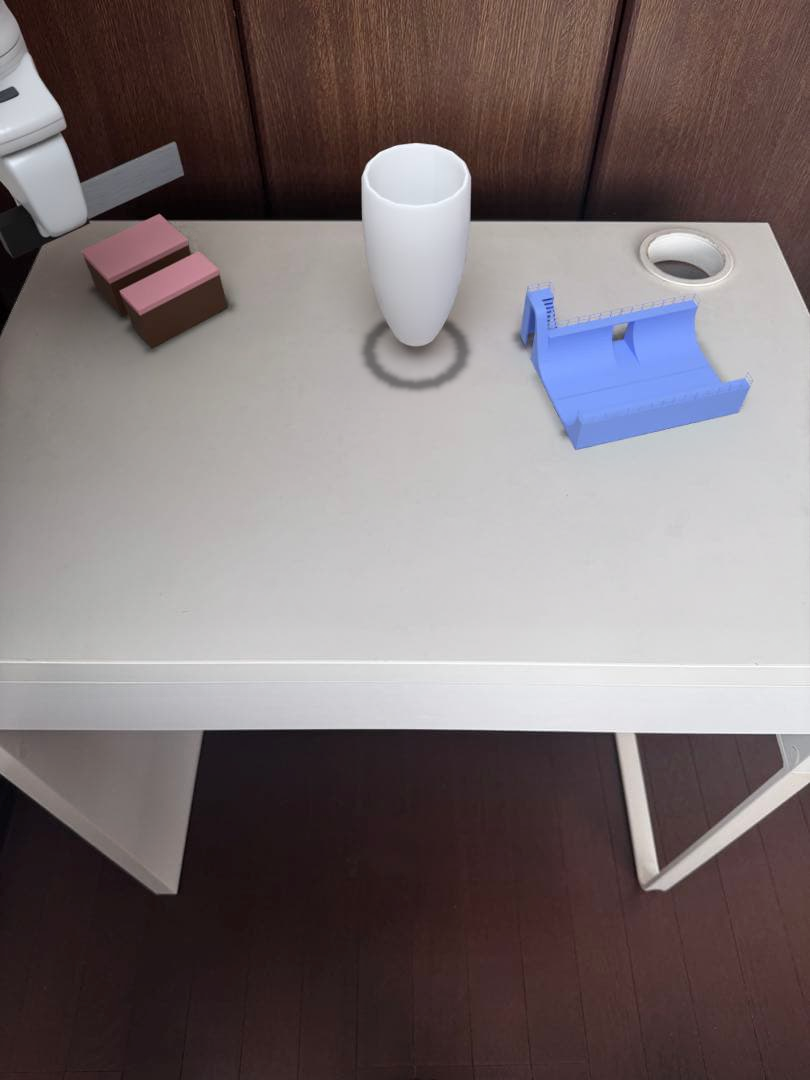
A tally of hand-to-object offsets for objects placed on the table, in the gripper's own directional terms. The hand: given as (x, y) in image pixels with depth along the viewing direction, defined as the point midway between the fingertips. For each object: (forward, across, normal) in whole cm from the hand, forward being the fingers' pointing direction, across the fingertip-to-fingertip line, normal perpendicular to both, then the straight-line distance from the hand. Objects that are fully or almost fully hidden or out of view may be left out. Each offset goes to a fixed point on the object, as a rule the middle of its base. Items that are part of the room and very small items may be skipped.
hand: (41, 222), depth 82 cm
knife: (+2, 0, +6) cm, 6 cm away
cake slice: (+16, +2, +10) cm, 19 cm away
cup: (+17, +23, +27) cm, 39 cm away
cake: (+16, -6, +10) cm, 20 cm away
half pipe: (+17, +39, +42) cm, 60 cm away
